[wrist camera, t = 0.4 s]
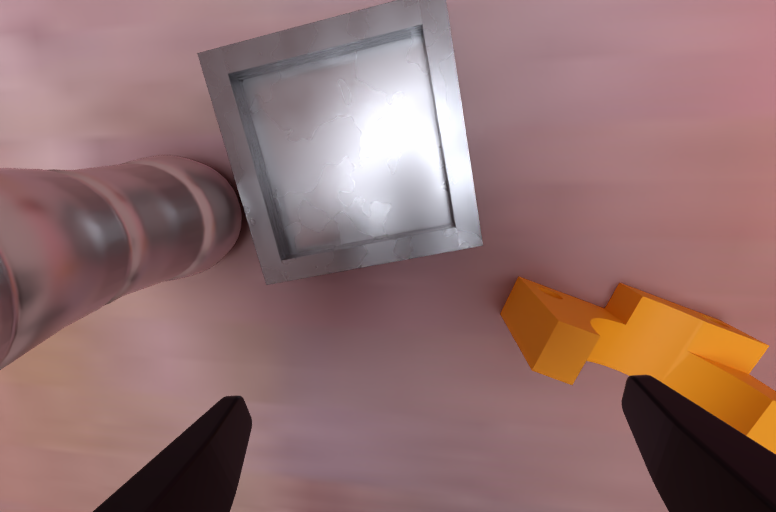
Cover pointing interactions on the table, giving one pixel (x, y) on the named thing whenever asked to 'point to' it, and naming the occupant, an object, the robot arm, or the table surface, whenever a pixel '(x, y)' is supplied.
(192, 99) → the table surface
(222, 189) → the plastic bottle
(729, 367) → the orange stepped block
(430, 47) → the tray
